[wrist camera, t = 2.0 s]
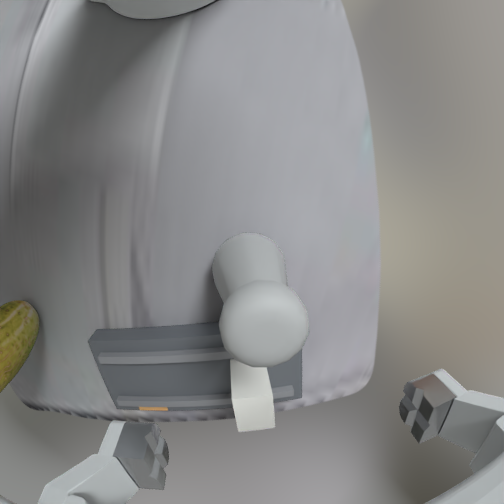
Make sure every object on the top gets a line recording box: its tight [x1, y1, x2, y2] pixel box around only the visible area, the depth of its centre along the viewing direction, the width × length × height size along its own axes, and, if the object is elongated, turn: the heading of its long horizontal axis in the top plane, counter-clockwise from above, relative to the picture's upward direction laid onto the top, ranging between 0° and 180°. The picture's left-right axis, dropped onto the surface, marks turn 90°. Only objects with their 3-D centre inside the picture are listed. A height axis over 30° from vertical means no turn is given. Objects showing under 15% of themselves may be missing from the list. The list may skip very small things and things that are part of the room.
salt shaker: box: [212, 233, 309, 367], centre depth 19 cm, size 6×6×13 cm
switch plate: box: [88, 322, 302, 411], centre depth 25 cm, size 9×20×3 cm, turn 95°
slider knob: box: [230, 359, 275, 432], centre depth 22 cm, size 4×3×5 cm
